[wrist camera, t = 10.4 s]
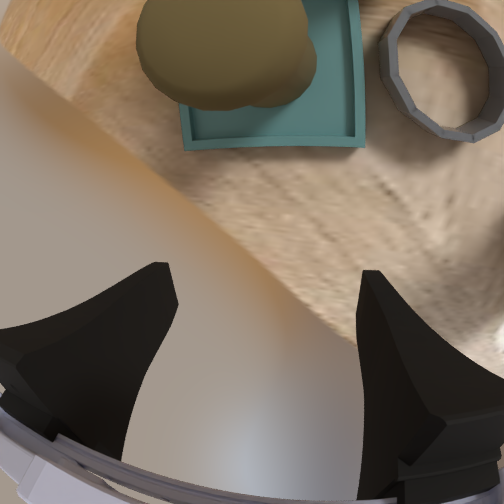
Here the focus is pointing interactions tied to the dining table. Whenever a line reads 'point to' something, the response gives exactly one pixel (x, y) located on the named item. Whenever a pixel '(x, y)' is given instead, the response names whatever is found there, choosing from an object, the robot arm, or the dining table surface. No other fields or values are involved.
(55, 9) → the dining table surface
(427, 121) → the ring
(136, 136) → the dining table surface
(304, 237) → the dining table surface
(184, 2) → the cork
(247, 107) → the tray
